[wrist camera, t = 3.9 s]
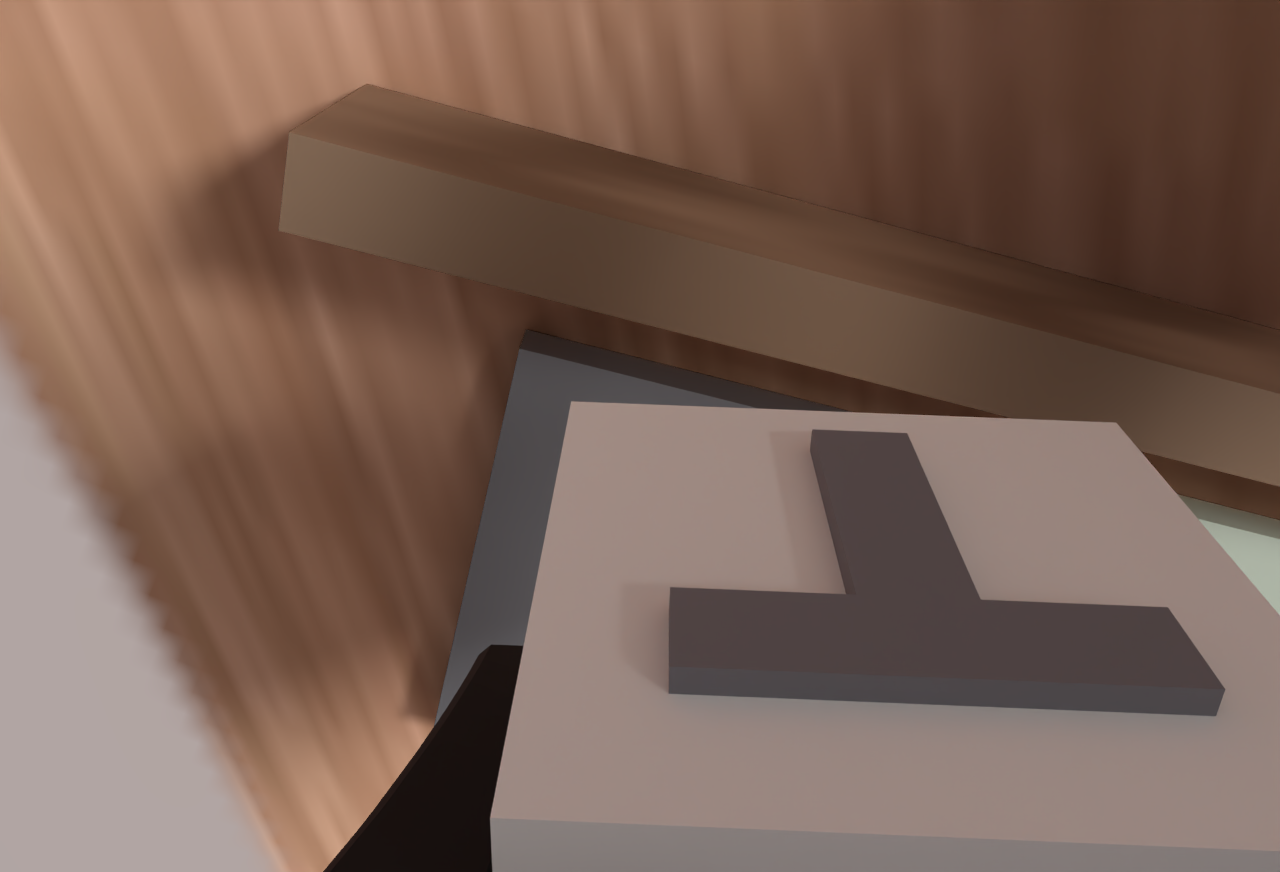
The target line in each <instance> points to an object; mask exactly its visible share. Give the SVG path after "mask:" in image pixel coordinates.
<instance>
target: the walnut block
mask: <svg viewBox="0 0 1280 872" xmlns="http://www.w3.org/2000/svg"><path fill="white" fill-rule="evenodd" d="M278 231H282V232H286V233H290V234H293V235H297V236H301V237H305V238H309V239H313V240H317V241H321V242H325V243H329V244H333V245H336V246H340V247H344V248H348V249H352V250H356V251H360V252H364V253H368V254H372V255H376V256H379V257H383V258H387V259H391V260H395V261H399V262H403V263H407V264H411V265H415V266H419V267H422V268H426V269H430V270H434V271H438V272H442V273H446V274H450V275H454V276H458V277H462V278H465V279H469V280H473V281H477V282H481V283H485V284H489V285H493V286H497V287H501V288H505V289H508V290H512V291H516V292H520V293H524V294H528V295H532V296H536V297H540V298H544V299H548V300H551V301H555V302H559V303H563V304H567V305H571V306H575V307H579V308H583V309H587V310H591V311H594V312H598V313H602V314H606V315H610V316H614V317H618V318H622V319H626V320H630V321H634V322H637V323H641V324H645V325H649V326H653V327H657V328H661V329H665V330H669V331H673V332H677V333H680V334H684V335H688V336H692V337H696V338H700V339H704V340H708V341H712V342H716V343H720V344H724V345H727V346H731V347H735V348H739V349H743V350H747V351H751V352H755V353H759V354H763V355H767V356H770V357H774V358H778V359H782V360H786V361H790V362H794V363H798V364H802V365H806V366H810V367H813V368H817V369H821V370H825V371H829V372H833V373H837V374H841V375H845V376H849V377H853V378H856V379H860V380H864V381H868V382H872V383H876V384H880V385H884V386H888V387H892V388H896V389H899V390H903V391H907V392H911V393H915V394H919V395H923V396H927V397H931V398H935V399H939V400H942V401H946V402H950V403H954V404H958V405H962V406H966V407H970V408H974V409H978V410H982V411H985V412H989V413H993V414H997V415H1001V416H1005V417H1009V418H1013V419H1037V420H1062V421H1088V422H1114V423H1117V424H1118V425H1119V426H1120V428H1121V429H1122V430H1123V431H1124V432H1125V434H1126V435H1127V436H1128V437H1129V438H1130V439H1131V441H1132V442H1133V443H1134V444H1135V445H1136V446H1137V448H1138V449H1139V450H1140V451H1142V452H1146V453H1150V454H1154V455H1157V456H1161V457H1165V458H1169V459H1173V460H1177V461H1181V462H1185V463H1189V464H1193V465H1197V466H1200V467H1204V468H1208V469H1212V470H1216V471H1220V472H1224V473H1228V474H1232V475H1236V476H1240V477H1243V478H1247V479H1251V480H1255V481H1259V482H1263V483H1267V484H1271V485H1275V486H1279V487H1280V330H1277V329H1273V328H1270V327H1266V326H1262V325H1258V324H1255V323H1251V322H1247V321H1244V320H1240V319H1236V318H1232V317H1229V316H1225V315H1221V314H1218V313H1214V312H1210V311H1207V310H1203V309H1199V308H1195V307H1192V306H1188V305H1184V304H1181V303H1177V302H1173V301H1170V300H1166V299H1162V298H1158V297H1155V296H1151V295H1147V294H1144V293H1140V292H1136V291H1132V290H1129V289H1125V288H1121V287H1118V286H1114V285H1110V284H1107V283H1103V282H1099V281H1095V280H1092V279H1088V278H1084V277H1081V276H1077V275H1073V274H1069V273H1066V272H1062V271H1058V270H1055V269H1051V268H1047V267H1044V266H1040V265H1036V264H1032V263H1029V262H1025V261H1021V260H1018V259H1014V258H1010V257H1006V256H1003V255H999V254H995V253H992V252H988V251H984V250H981V249H977V248H973V247H969V246H966V245H962V244H958V243H955V242H951V241H947V240H944V239H940V238H936V237H932V236H929V235H925V234H921V233H918V232H914V231H910V230H906V229H903V228H899V227H895V226H892V225H888V224H884V223H881V222H877V221H873V220H869V219H866V218H862V217H858V216H855V215H851V214H847V213H843V212H840V211H836V210H832V209H829V208H825V207H821V206H818V205H814V204H810V203H806V202H803V201H799V200H795V199H792V198H788V197H784V196H781V195H777V194H773V193H769V192H766V191H762V190H758V189H755V188H751V187H747V186H743V185H740V184H736V183H732V182H729V181H725V180H721V179H718V178H714V177H710V176H706V175H703V174H699V173H695V172H692V171H688V170H684V169H680V168H677V167H673V166H669V165H666V164H662V163H658V162H655V161H651V160H647V159H643V158H640V157H636V156H632V155H629V154H625V153H621V152H618V151H614V150H610V149H606V148H603V147H599V146H595V145H592V144H588V143H584V142H580V141H577V140H573V139H569V138H566V137H562V136H558V135H555V134H551V133H547V132H543V131H540V130H536V129H532V128H529V127H525V126H521V125H517V124H514V123H510V122H506V121H503V120H499V119H495V118H492V117H488V116H484V115H480V114H477V113H473V112H469V111H466V110H462V109H458V108H454V107H451V106H447V105H443V104H440V103H436V102H432V101H429V100H425V99H421V98H417V97H414V96H410V95H406V94H403V93H399V92H395V91H392V90H388V89H384V88H380V87H377V86H373V85H369V84H366V85H364V86H363V87H361V88H359V89H358V90H356V91H355V92H353V93H351V94H350V95H348V96H347V97H345V98H343V99H342V100H340V101H339V102H337V103H335V104H334V105H332V106H330V107H329V108H327V109H326V110H324V111H322V112H321V113H319V114H318V115H316V116H314V117H313V118H311V119H310V120H308V121H306V122H305V123H303V124H301V125H300V126H298V127H297V128H295V129H293V130H292V131H290V132H289V138H288V147H287V156H286V165H285V174H284V184H283V193H282V202H281V211H280V220H279V229H278Z"/></svg>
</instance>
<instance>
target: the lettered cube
mask: <svg viewBox="0 0 1280 872" xmlns="http://www.w3.org/2000/svg"><path fill="white" fill-rule="evenodd" d="M490 828H491V852H492V872H1280V615H1279V614H1278V613H1277V612H1276V610H1275V609H1274V608H1273V607H1272V606H1271V604H1270V603H1269V602H1268V601H1267V600H1266V599H1265V597H1264V596H1263V595H1262V594H1261V593H1260V591H1259V590H1258V589H1257V588H1256V587H1255V586H1254V584H1253V583H1252V582H1251V581H1250V580H1249V579H1248V577H1247V576H1246V575H1245V574H1244V573H1243V571H1242V570H1241V569H1240V568H1239V567H1238V566H1237V564H1236V563H1235V562H1234V561H1233V560H1232V558H1231V557H1230V556H1229V555H1228V554H1227V553H1226V551H1225V550H1224V549H1223V548H1222V547H1221V546H1220V544H1219V543H1218V542H1217V541H1216V540H1215V538H1214V537H1213V536H1212V535H1211V534H1210V533H1209V531H1208V530H1207V529H1206V528H1205V527H1204V525H1203V524H1202V523H1201V522H1200V521H1199V520H1198V518H1197V517H1196V516H1195V515H1194V514H1193V513H1192V511H1191V510H1190V509H1189V508H1188V507H1187V505H1186V504H1185V503H1184V502H1183V501H1182V500H1181V498H1180V497H1179V496H1178V495H1177V494H1176V492H1175V491H1174V490H1173V489H1172V488H1171V487H1170V485H1169V484H1168V483H1167V482H1166V481H1165V479H1164V478H1163V477H1162V476H1161V475H1160V474H1159V472H1158V471H1157V470H1156V469H1155V468H1154V467H1153V465H1152V464H1151V463H1150V462H1149V461H1148V459H1147V458H1146V457H1145V456H1144V455H1143V454H1142V452H1141V451H1140V450H1139V449H1138V448H1137V446H1136V445H1135V444H1134V443H1133V442H1132V441H1131V439H1130V438H1129V437H1128V436H1127V435H1126V434H1125V432H1124V431H1123V430H1122V429H1121V428H1120V426H1119V425H1118V424H1117V423H1114V422H1088V421H1062V420H1037V419H1011V418H985V417H960V416H934V415H909V414H883V413H857V412H832V411H806V410H780V409H755V408H729V407H704V406H678V405H652V404H627V403H601V402H575V401H571V405H570V410H569V416H568V421H567V426H566V431H565V436H564V441H563V446H562V452H561V457H560V462H559V467H558V472H557V477H556V482H555V487H554V493H553V498H552V503H551V508H550V513H549V518H548V523H547V528H546V534H545V539H544V544H543V549H542V554H541V559H540V564H539V569H538V575H537V580H536V585H535V590H534V595H533V600H532V605H531V610H530V616H529V621H528V626H527V631H526V636H525V641H524V646H523V652H522V657H521V662H520V667H519V672H518V677H517V682H516V687H515V693H514V698H513V703H512V708H511V713H510V718H509V723H508V728H507V734H506V739H505V744H504V749H503V754H502V759H501V764H500V769H499V775H498V780H497V785H496V790H495V795H494V800H493V805H492V811H491V816H490Z"/></svg>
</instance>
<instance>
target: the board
mask: <svg viewBox="0 0 1280 872" xmlns="http://www.w3.org/2000/svg"><path fill="white" fill-rule="evenodd" d="M571 401H575V402H601V403H627V404H652V405H678V406H704V407H729V408H755V409H780V410H806V411H832V412H850V411H846V410H842V409H838V408H834V407H831V406H827V405H823V404H819V403H815V402H811V401H807V400H803V399H799V398H795V397H791V396H787V395H783V394H779V393H775V392H771V391H767V390H763V389H759V388H755V387H751V386H747V385H744V384H740V383H736V382H732V381H728V380H724V379H720V378H716V377H712V376H708V375H704V374H700V373H696V372H692V371H688V370H684V369H680V368H676V367H672V366H668V365H664V364H660V363H656V362H653V361H649V360H645V359H641V358H637V357H633V356H629V355H625V354H621V353H617V352H613V351H609V350H605V349H601V348H597V347H593V346H589V345H585V344H581V343H577V342H573V341H569V340H565V339H562V338H558V337H554V336H550V335H546V334H542V333H538V332H534V331H530V330H526V331H525V334H524V337H523V340H522V343H521V345H520V348H519V353H518V357H517V362H516V366H515V370H514V375H513V379H512V384H511V388H510V393H509V397H508V401H507V406H506V410H505V415H504V419H503V423H502V428H501V432H500V437H499V441H498V446H497V450H496V454H495V459H494V463H493V468H492V472H491V477H490V481H489V485H488V490H487V494H486V499H485V503H484V508H483V512H482V516H481V521H480V525H479V530H478V534H477V538H476V543H475V547H474V552H473V556H472V561H471V565H470V569H469V574H468V578H467V583H466V587H465V592H464V596H463V600H462V605H461V609H460V614H459V618H458V623H457V627H456V631H455V636H454V640H453V645H452V649H451V653H450V658H449V662H448V667H447V671H446V676H445V680H444V684H443V689H442V693H441V698H440V702H439V707H438V711H437V715H436V720H435V724H434V726H435V725H436V723H437V722H438V720H439V719H440V717H441V716H442V714H443V713H444V711H445V710H446V708H447V707H448V705H449V704H450V702H451V700H452V699H453V697H454V696H455V694H456V693H457V691H458V689H459V688H460V686H461V684H462V683H463V681H464V679H465V678H466V676H467V675H468V673H469V671H470V669H471V668H472V666H473V664H474V662H475V660H476V659H477V657H478V655H479V654H480V653H481V652H482V651H484V650H485V649H486V648H487V647H489V646H490V645H491V644H492V645H518V646H524V641H525V636H526V631H527V626H528V621H529V616H530V610H531V605H532V600H533V595H534V590H535V585H536V580H537V575H538V569H539V564H540V559H541V554H542V549H543V544H544V539H545V534H546V528H547V523H548V518H549V513H550V508H551V503H552V498H553V493H554V487H555V482H556V477H557V472H558V467H559V462H560V457H561V452H562V446H563V441H564V436H565V431H566V426H567V421H568V416H569V410H570V405H571ZM1177 495H1178V496H1179V497H1180V498H1181V500H1182V501H1183V502H1184V503H1185V504H1186V505H1187V507H1188V508H1189V509H1190V510H1191V511H1192V513H1193V514H1194V515H1195V516H1196V517H1197V518H1198V520H1199V521H1200V522H1201V523H1202V524H1203V525H1204V527H1205V528H1206V529H1207V530H1208V531H1209V533H1210V534H1211V535H1212V536H1213V537H1214V538H1215V540H1216V541H1217V542H1218V543H1219V544H1220V546H1221V547H1222V548H1223V549H1224V550H1225V551H1226V553H1227V554H1228V555H1229V556H1230V557H1231V558H1232V560H1233V561H1234V562H1235V563H1236V564H1237V566H1238V567H1239V568H1240V569H1241V570H1242V571H1243V573H1244V574H1245V575H1246V576H1247V577H1248V579H1249V580H1250V581H1251V582H1252V583H1253V584H1254V586H1255V587H1256V588H1257V589H1258V590H1259V591H1260V593H1261V594H1262V595H1263V596H1264V597H1265V599H1266V600H1267V601H1268V602H1269V603H1270V604H1271V606H1272V607H1273V608H1274V609H1275V610H1276V612H1277V613H1278V614H1279V615H1280V520H1278V519H1274V518H1270V517H1266V516H1262V515H1258V514H1254V513H1250V512H1246V511H1242V510H1238V509H1234V508H1230V507H1226V506H1222V505H1218V504H1214V503H1210V502H1206V501H1202V500H1198V499H1195V498H1191V497H1187V496H1183V495H1179V494H1177Z"/></svg>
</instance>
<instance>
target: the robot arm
mask: <svg viewBox="0 0 1280 872" xmlns="http://www.w3.org/2000/svg"><path fill="white" fill-rule="evenodd" d="M522 652H523V646H518V645H492V644H491V645H490V646H489V647H487V648H486V649H485V650H484V651H482V652H481V653H480V654H479V655H478V657H477V659H476V660H475V662H474V664H473V666H472V668H471V669H470V671H469V673H468V675H467V676H466V678H465V679H464V681H463V683H462V684H461V686H460V688H459V689H458V691H457V693H456V694H455V696H454V697H453V699H452V700H451V702H450V704H449V705H448V707H447V708H446V710H445V711H444V713H443V714H442V716H441V717H440V719H439V720H438V722H437V723H436V725H435V726H434V728H433V729H432V731H431V732H430V733H429V735H428V736H427V738H426V739H425V741H424V742H423V744H422V745H421V747H420V748H419V749H418V751H417V752H416V754H415V755H414V756H413V758H412V759H411V760H410V762H409V763H408V764H407V766H406V767H405V769H404V770H403V771H402V773H401V774H400V775H399V777H398V778H397V779H396V781H395V782H394V783H393V785H392V786H391V787H390V789H389V790H388V791H387V793H386V794H385V795H384V797H383V798H382V799H381V801H380V802H379V804H378V805H377V806H376V808H375V809H374V810H373V812H372V813H371V814H370V815H369V817H368V818H367V819H366V821H365V822H364V823H363V824H362V826H361V827H360V828H359V829H358V831H357V832H356V833H355V834H354V836H353V837H352V838H351V839H350V840H349V842H348V843H347V844H346V845H345V846H344V848H343V849H342V850H341V851H340V852H339V854H338V855H337V856H336V857H335V858H334V859H333V861H332V862H331V863H330V864H329V865H328V867H327V868H326V869H325V870H324V871H323V872H492V852H491V828H490V816H491V811H492V805H493V800H494V795H495V790H496V785H497V780H498V775H499V769H500V764H501V759H502V754H503V749H504V744H505V739H506V734H507V728H508V723H509V718H510V713H511V708H512V703H513V698H514V693H515V687H516V682H517V677H518V672H519V667H520V662H521V657H522Z"/></svg>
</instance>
